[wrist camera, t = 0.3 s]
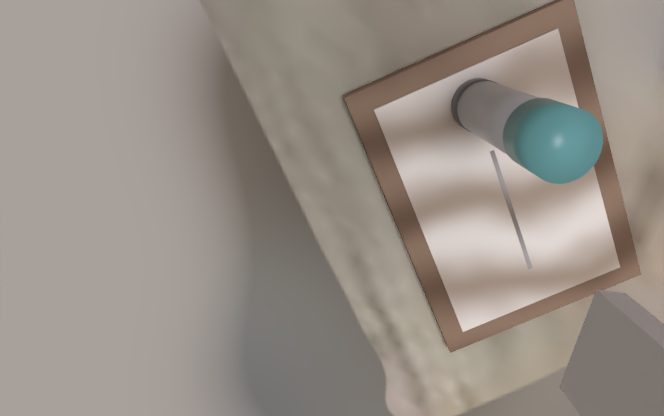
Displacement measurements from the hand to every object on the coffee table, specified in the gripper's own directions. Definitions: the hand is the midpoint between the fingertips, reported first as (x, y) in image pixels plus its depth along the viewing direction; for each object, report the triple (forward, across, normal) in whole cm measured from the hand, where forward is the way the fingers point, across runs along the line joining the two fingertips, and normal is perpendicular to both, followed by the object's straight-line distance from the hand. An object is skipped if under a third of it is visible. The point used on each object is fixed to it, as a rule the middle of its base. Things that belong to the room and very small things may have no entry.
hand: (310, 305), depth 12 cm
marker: (+25, +12, +3) cm, 28 cm away
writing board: (+26, +16, -3) cm, 31 cm away
